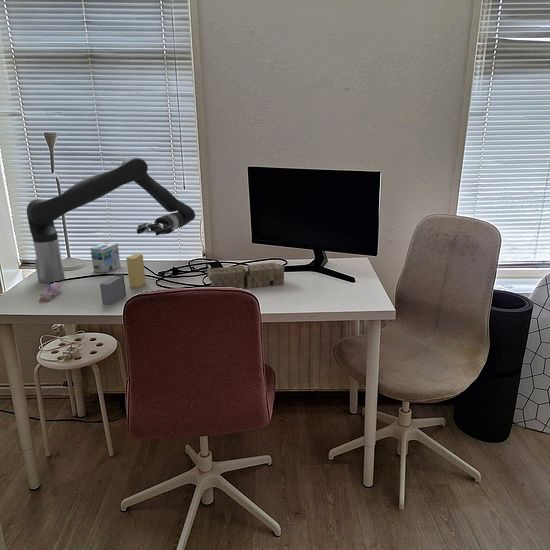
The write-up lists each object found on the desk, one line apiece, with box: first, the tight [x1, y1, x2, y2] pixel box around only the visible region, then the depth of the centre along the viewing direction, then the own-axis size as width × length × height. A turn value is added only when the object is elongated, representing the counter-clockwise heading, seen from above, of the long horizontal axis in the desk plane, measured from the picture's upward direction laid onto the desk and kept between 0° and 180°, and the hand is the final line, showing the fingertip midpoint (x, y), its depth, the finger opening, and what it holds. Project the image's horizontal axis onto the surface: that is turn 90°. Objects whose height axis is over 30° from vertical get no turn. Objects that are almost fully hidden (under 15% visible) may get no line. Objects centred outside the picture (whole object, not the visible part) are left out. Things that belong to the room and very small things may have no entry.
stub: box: [126, 253, 147, 289], centre depth 195 cm, size 6×4×12 cm, turn 163°
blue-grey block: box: [99, 273, 127, 306], centre depth 181 cm, size 10×4×8 cm, turn 163°
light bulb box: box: [90, 241, 121, 273], centre depth 216 cm, size 11×7×11 cm, turn 160°
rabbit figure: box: [38, 281, 63, 304], centre depth 187 cm, size 6×6×15 cm
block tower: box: [206, 261, 285, 290], centre depth 193 cm, size 8×8×29 cm
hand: (147, 232), depth 201 cm, fingers open, 8 cm apart
